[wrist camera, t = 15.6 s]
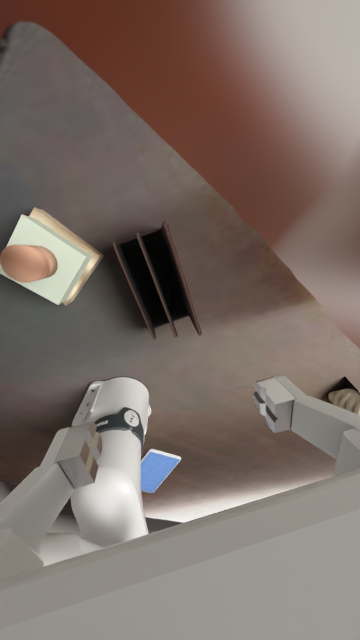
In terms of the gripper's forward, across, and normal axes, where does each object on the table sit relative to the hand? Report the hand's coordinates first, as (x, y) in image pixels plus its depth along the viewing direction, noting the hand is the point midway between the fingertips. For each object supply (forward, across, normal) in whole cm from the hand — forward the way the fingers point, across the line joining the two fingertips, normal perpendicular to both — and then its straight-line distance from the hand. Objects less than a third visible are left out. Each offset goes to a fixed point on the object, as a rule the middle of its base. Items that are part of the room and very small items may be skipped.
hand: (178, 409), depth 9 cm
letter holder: (+36, -1, -1) cm, 36 cm away
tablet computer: (+36, +14, +62) cm, 73 cm away
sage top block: (+32, +17, -8) cm, 37 cm away
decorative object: (+35, -54, +47) cm, 80 cm away
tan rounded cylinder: (+28, +17, -8) cm, 34 cm away
